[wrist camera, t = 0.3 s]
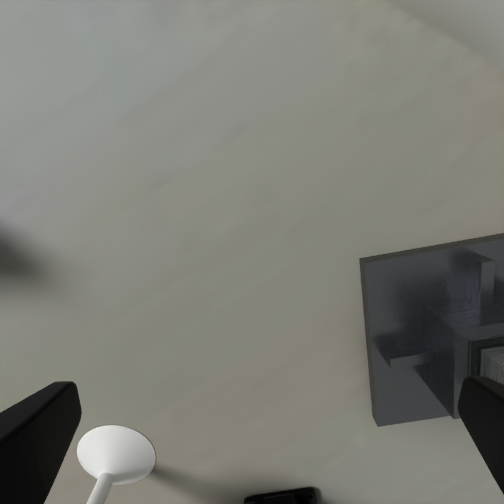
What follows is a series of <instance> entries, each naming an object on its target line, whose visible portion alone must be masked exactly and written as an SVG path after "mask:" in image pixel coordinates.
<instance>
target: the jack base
mask: <svg viewBox="0 0 504 504" xmlns="http://www.w3.org/2000/svg"><path fill="white" fill-rule="evenodd" d="M360 271H361V283H362V295H363V307H364V318H365V330H366V342H367V354H368V366H369V377H370V389H371V401H372V413H373V418H374V420H375V422H376V424H377V426H378V427H379V426H386V425H392V424H399V423H405V422H412V421H418V420H425V419H432V418H438V417H445V416H452V418H453V419H458V418H461V417H460V415H459V412H458V406H457V405H458V400H459V395H460V391H461V386H462V382H463V379H464V378H465V377H467V376H468V340H472V339H479V338H485V337H491V336H497V335H503V334H504V233H502V234H496V235H491V236H485V237H479V238H474V239H468V240H462V241H457V242H451V243H445V244H440V245H434V246H428V247H422V248H417V249H411V250H405V251H400V252H394V253H388V254H383V255H377V256H371V257H366V258H360Z"/></svg>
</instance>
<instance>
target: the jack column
mask: <svg viewBox="0 0 504 504" xmlns="http://www.w3.org/2000/svg"><path fill="white" fill-rule="evenodd" d="M468 376H486V377H488V378H491V379H493V380H495V381H497V382H499V383H501V384H503V385H504V334H503V335H497V336H491V337H485V338H479V339H472V340H468Z"/></svg>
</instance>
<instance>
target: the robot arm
mask: <svg viewBox="0 0 504 504" xmlns="http://www.w3.org/2000/svg"><path fill="white" fill-rule="evenodd" d="M457 406H458V412H459V415H460V417H461V419H462V421H463V423H464V425H465V427H466V428H467V430H468V432H469V434H470V436H471V437H472V439H473V441H474V443H475V445H476V446H477V448H478V450H479V452H480V454H481V455H482V457H483V459H484V461H485V463H486V464H487V466H488V468H489V470H490V472H491V474H492V475H493V477H494V479H495V480H496V482H497V484H498V486H499V487H500V489H501V491H502V492H503V494H504V385H503V384H501V383H499V382H497V381H495V380H493V379H491V378H488V377H486V376H467V377H465V378H464V379H463V382H462V386H461V391H460V395H459V400H458V405H457ZM81 413H82V411H81V405H80V400H79V395H78V390H77V386H76V384H75V383H74V382H72V381H60V382H54V383H52V384H50V385H48V386H47V387H45V388H43V389H41V390H40V391H38V392H36V393H34V394H32V395H31V396H29V397H27V398H25V399H24V400H22V401H20V402H18V403H17V404H15V405H13V406H11V407H10V408H8V409H6V410H4V411H3V412H1V413H0V504H44V502H45V500H46V498H47V496H48V494H49V492H50V490H51V487H52V485H53V483H54V481H55V478H56V476H57V474H58V471H59V469H60V467H61V464H62V462H63V460H64V457H65V455H66V453H67V450H68V448H69V446H70V443H71V441H72V439H73V436H74V434H75V432H76V429H77V427H78V425H79V422H80V419H81ZM244 504H317V499H316V494H315V490H314V489H312V488H308V489H301V490H294V491H287V492H280V493H273V494H266V495H259V496H253V497H247V498H245V499H244Z"/></svg>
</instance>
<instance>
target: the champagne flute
mask: <svg viewBox="0 0 504 504" xmlns="http://www.w3.org/2000/svg"><path fill="white" fill-rule="evenodd" d="M77 455H78V459H79V461H80V464H81V465H82V467H83V468H84V469H85V470H86V471H87V472H88V473H89V474H90V475H92V476H93V477H95V478H97V479H98V480H97V483H96V485H95V487H94V489H93V491H92V493H91V495H90V497H89V499H88V502H87V504H104V502H105V500H106V498H107V495H108V493H109V490H110V488H111V486H112V484H130V483H134V482H137V481H139V480H141V479H143V478H145V477H146V476H147V475H149V473H150V472H151V471H152V470H153V467H154V465H155V461H156V456H155V451H154V448H153V446H152V445H151V443H150V442H149V441H148V440H147V439H146V437H144V436H143V435H142V434H140V433H139V432H137V431H135V430H133V429H130V428H127V427H124V426H118V425H107V426H101V427H97V428H94V429H92V430H91V431H89V432H87V433H86V434H85V435H84V436H83V437H82V439H81V440H80V441H79V444H78V448H77Z"/></svg>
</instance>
